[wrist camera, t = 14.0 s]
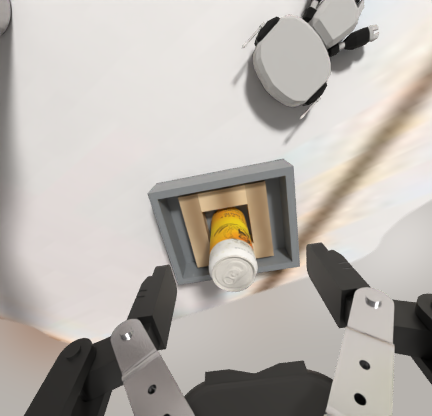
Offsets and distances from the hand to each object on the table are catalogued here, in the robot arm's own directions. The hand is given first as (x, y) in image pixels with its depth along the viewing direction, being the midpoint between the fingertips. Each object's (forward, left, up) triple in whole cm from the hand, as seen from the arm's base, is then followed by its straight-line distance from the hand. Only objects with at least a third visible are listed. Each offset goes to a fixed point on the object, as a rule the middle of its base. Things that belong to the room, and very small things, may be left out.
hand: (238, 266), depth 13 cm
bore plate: (-1, -10, -26) cm, 27 cm away
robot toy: (+14, +14, -27) cm, 34 cm away
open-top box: (-1, -10, -27) cm, 28 cm away
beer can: (-1, -9, -26) cm, 28 cm away
